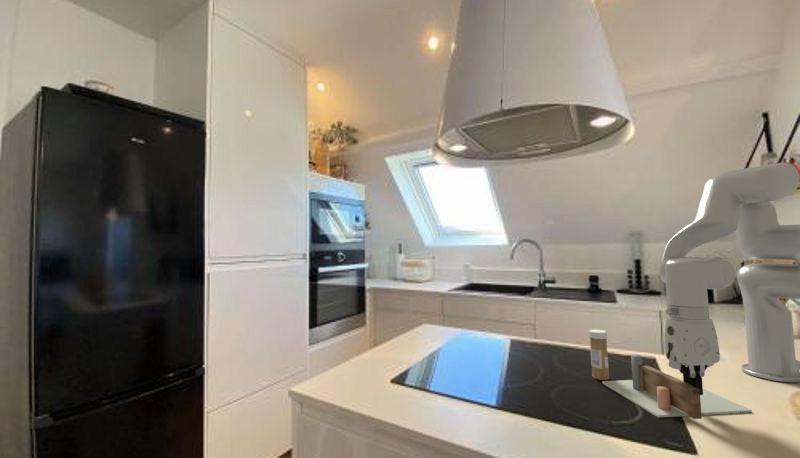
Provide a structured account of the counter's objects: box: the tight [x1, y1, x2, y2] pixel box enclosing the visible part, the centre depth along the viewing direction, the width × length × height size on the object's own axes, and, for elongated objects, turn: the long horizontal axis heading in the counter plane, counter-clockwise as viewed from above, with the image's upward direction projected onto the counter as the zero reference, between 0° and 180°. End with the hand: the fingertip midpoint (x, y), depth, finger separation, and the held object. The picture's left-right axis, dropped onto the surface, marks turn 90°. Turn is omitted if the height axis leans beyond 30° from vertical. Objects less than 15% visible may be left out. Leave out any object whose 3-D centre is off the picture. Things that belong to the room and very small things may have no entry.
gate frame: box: [601, 354, 753, 419], centre depth 89 cm, size 22×20×9 cm
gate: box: [639, 363, 703, 420], centre depth 83 cm, size 16×2×6 cm, turn 2°
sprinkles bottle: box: [588, 329, 611, 381], centre depth 103 cm, size 5×5×13 cm
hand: (693, 392), depth 82 cm, fingers closed
